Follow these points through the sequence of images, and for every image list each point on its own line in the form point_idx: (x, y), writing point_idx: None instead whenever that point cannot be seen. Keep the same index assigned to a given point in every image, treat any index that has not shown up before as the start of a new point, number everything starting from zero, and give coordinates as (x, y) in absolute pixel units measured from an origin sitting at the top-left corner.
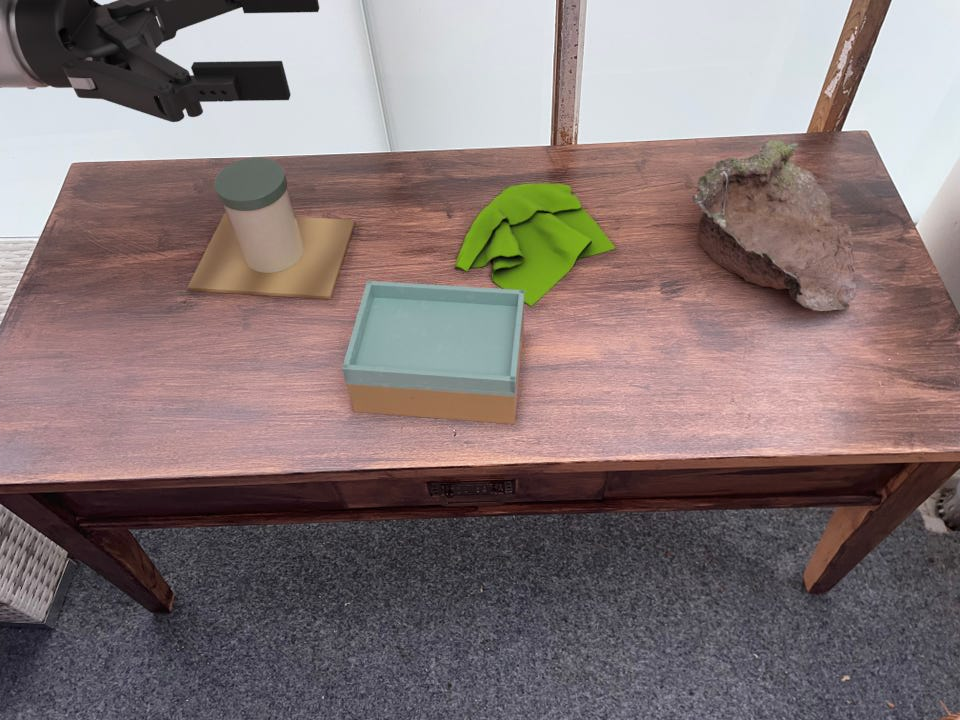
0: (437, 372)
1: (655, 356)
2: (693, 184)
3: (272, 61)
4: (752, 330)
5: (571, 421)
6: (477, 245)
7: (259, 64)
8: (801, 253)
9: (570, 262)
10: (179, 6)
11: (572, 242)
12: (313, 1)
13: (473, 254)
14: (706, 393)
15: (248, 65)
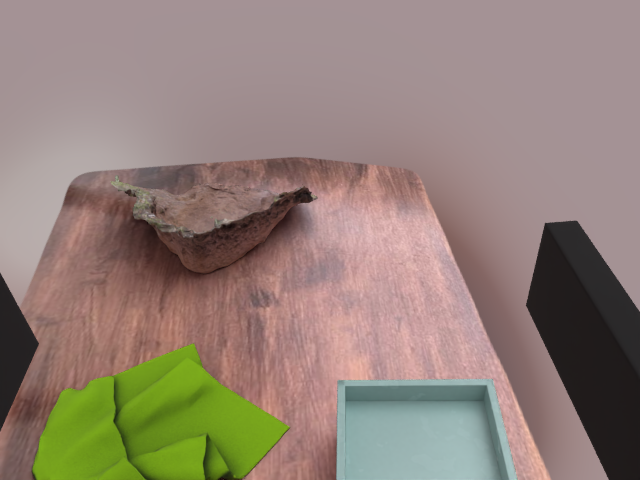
0: (510, 470)
1: (357, 312)
2: (99, 278)
3: (557, 242)
4: (317, 248)
5: None
6: None
7: (595, 263)
8: (229, 209)
9: (215, 385)
10: None
11: (187, 377)
12: (21, 326)
13: None
14: (397, 279)
15: (615, 289)
